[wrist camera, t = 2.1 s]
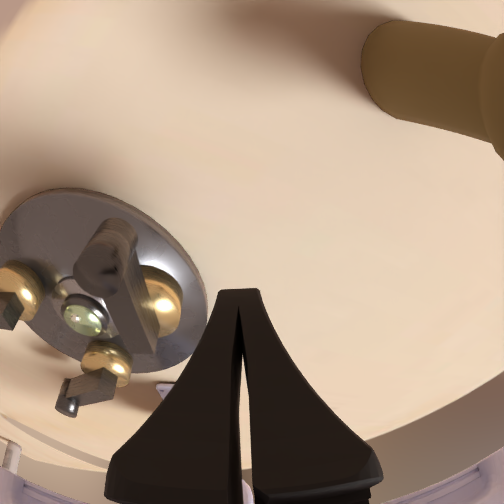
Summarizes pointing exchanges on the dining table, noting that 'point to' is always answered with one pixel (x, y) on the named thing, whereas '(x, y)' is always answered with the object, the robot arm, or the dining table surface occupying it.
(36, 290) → the knob
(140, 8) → the dining table surface
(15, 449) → the energy drink can
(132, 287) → the knob
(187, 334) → the levelling plate
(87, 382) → the knob
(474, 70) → the cork
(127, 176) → the dining table surface
